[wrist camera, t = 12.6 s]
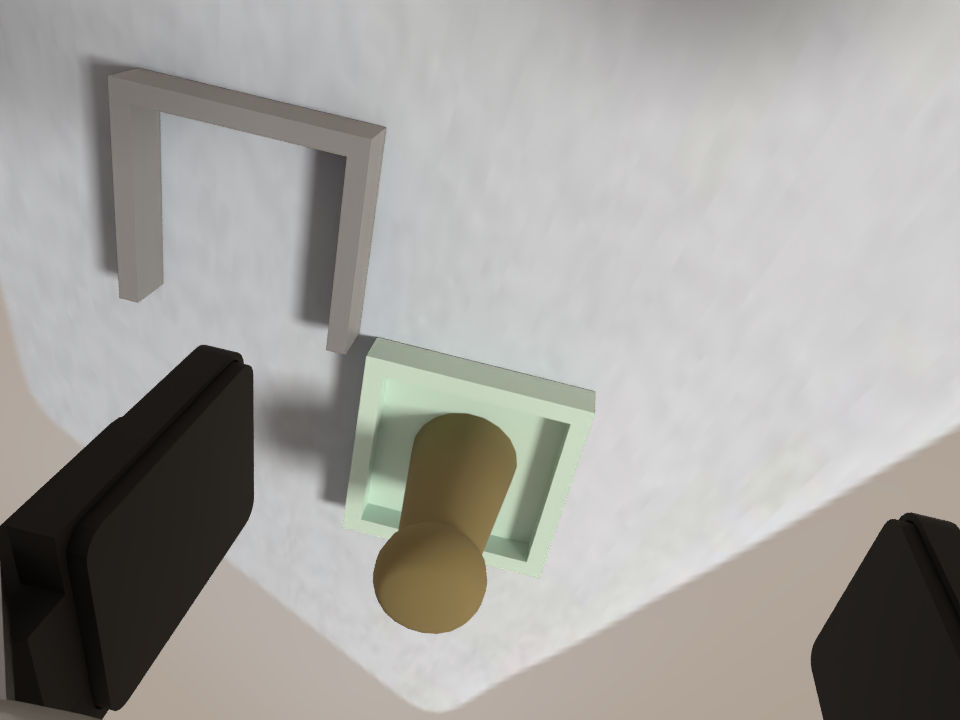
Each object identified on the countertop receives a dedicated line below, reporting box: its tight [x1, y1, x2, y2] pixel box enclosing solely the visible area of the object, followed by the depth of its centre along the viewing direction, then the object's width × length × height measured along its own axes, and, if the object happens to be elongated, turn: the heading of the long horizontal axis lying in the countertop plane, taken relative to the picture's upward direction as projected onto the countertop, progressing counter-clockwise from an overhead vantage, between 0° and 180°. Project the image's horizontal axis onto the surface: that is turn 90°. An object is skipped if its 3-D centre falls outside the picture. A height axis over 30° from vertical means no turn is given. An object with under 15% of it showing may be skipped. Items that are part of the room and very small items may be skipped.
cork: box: [373, 413, 517, 634], centre depth 37 cm, size 6×6×11 cm
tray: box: [342, 337, 596, 578], centre depth 42 cm, size 12×12×2 cm
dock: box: [108, 68, 386, 355], centre depth 36 cm, size 12×11×2 cm
